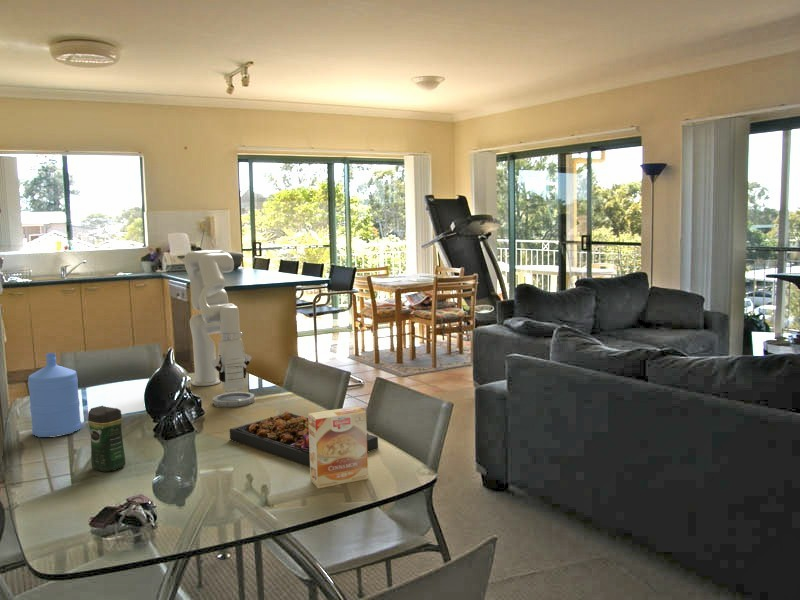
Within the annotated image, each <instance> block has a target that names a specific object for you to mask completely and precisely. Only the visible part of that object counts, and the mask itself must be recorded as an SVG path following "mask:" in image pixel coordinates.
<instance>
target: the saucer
mask: <svg viewBox="0 0 800 600" xmlns="http://www.w3.org/2000/svg"><path fill="white" fill-rule="evenodd" d="M212 402H213V405H214V406H215V405H216V406H215V407H217V406H218V407H217V408H224V407H225V408H228V409H229V408H230V409H231V408H240V407H244V406H248V405H252V404H253V403H255V394H254V393H252V392H247V391H235V392H224V393H220V394H217V395H215V396H214V397H213V398H212ZM251 403H252V404H251Z"/></svg>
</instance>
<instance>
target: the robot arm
mask: <svg viewBox="0 0 800 600" xmlns="http://www.w3.org/2000/svg"><path fill="white" fill-rule="evenodd" d="M234 261H235V260H234V258H233V256H232V255H231V254H230V253H229V252H228V251H225V250H222V249H211V250H195V251H189V252H187V253H185V255H184V268H185V270H186V273H187V275H188V279H189V283H190V285H189V287H190V296H191V297H190V299H191V305H192V308H193V309H194V310H196V311H200V313H197V314H194V315H192V316H191V317H190V319H189V327H190V328H189V329H190V332H191V337H192V338H191V339H192V349H193V365H194V380H192V381H191V385H192V386H195V387H207V386H214V385H217V384H220V383H221V382H225V372H224V366H225V361H229V360H236V359H242V360H243V373H244V379H246V376H247V367H248V366H249V364H250V361H251V360H252V356H251V355H249V354H247V353H246V352H245V347H244V343H243V342H244V341H243V339H242V338H241V337H242V336H244V333H243V332H242V331H241V329H240V328H241V327H240V326H241V325H240V310H239V309H240V308H239V307H238V306H237V305H236V304H234V303H231V302H230V301H229V297H228V292H227V291H226V290H225V287H226V279H225V277H224V273H231V272H233V271H234V267H235V262H234ZM214 334H220V340H218V344H217V346H218V347H217V352H216V343H215V341H214V340H213V339H212V338H211V337H210V335H214Z"/></svg>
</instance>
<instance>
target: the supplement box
mask: <svg viewBox="0 0 800 600" xmlns="http://www.w3.org/2000/svg"><path fill="white" fill-rule="evenodd" d="M224 372H225V382H222V381H221V382H222V389H223V390H224V391H225V393H230V392H243V391H245V378H244V373H243V360H242V359H236V360H229V361H225V366H224Z"/></svg>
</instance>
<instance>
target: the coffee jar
mask: <svg viewBox="0 0 800 600" xmlns="http://www.w3.org/2000/svg"><path fill="white" fill-rule="evenodd" d="M87 414H88V415H87V422H88V427H89V433H90V434H89V435H90V449H91V450H90V452H91V453H90V454H91V455H90V457H91V462H90V463H91V468H92V469H93V470H97V471H100V472H105V471H107V472H110V471H111V470H112V471H116V470H115V469H118V468H120V469H122V468H123V467H125V466H126V455H125V448H124V439H123V431H122V428H123V427H122V426H123V425H122V424H123V415H122V410H121V409H119V408H117V407H110V406H104V405H100V406H95V407H91V408H90V409H89V411H88V413H87ZM121 467H122V468H121ZM118 470H119V469H118Z"/></svg>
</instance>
